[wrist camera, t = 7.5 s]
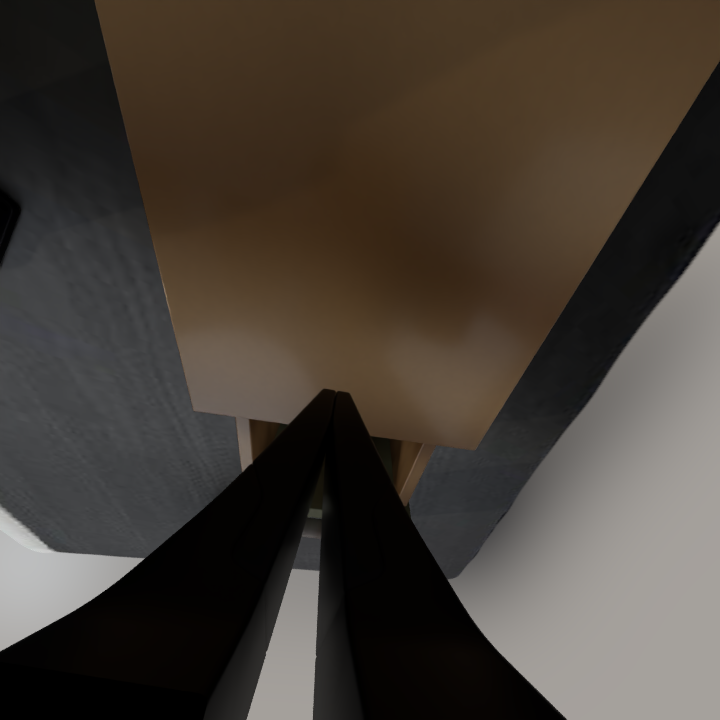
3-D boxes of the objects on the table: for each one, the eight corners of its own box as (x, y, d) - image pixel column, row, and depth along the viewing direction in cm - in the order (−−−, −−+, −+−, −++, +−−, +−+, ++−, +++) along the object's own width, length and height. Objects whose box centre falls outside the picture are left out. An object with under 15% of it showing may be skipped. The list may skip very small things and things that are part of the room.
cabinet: (434, 352, 21) (475, 451, 13) (264, 324, 20) (192, 411, 12) (547, 51, 12) (913, -244, 4) (252, -23, 11) (-54, -601, 3)
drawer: (384, 475, 28) (389, 560, 22) (271, 461, 28) (240, 544, 21) (454, 289, 17) (506, 346, 11) (266, 255, 16) (197, 294, 10)
